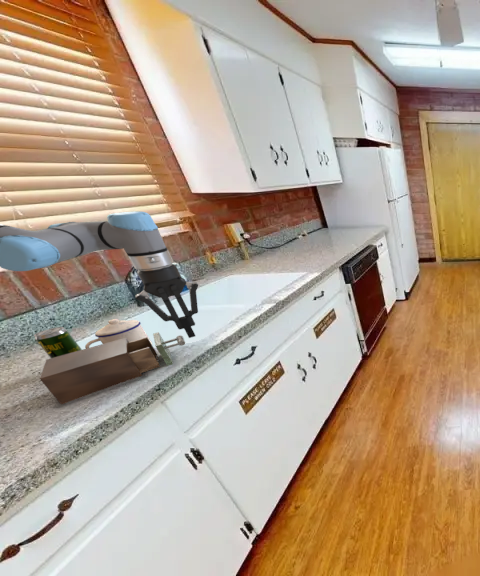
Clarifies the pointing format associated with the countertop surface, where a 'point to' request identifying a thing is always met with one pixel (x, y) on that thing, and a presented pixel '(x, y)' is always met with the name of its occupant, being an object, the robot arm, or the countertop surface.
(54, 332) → the green soda can
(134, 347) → the drawer
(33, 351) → the countertop surface
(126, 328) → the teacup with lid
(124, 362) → the cabinet
